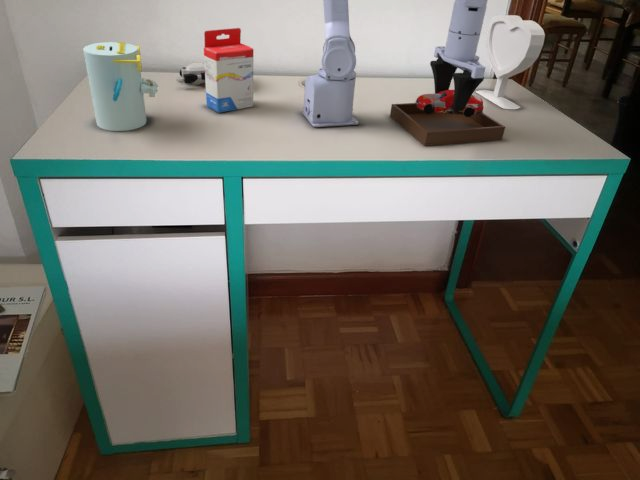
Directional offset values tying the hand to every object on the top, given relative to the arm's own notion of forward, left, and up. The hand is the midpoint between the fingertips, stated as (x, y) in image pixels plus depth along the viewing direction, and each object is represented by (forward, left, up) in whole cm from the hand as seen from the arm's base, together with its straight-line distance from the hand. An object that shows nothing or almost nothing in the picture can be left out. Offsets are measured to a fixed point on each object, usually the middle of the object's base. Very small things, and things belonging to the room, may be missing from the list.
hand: (449, 104), depth 102 cm
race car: (0, 0, -2) cm, 2 cm away
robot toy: (-41, +33, -5) cm, 53 cm away
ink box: (-40, +18, -5) cm, 44 cm away
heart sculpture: (+23, +14, -5) cm, 27 cm away
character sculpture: (-60, +13, -5) cm, 61 cm away
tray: (0, 0, -5) cm, 5 cm away
